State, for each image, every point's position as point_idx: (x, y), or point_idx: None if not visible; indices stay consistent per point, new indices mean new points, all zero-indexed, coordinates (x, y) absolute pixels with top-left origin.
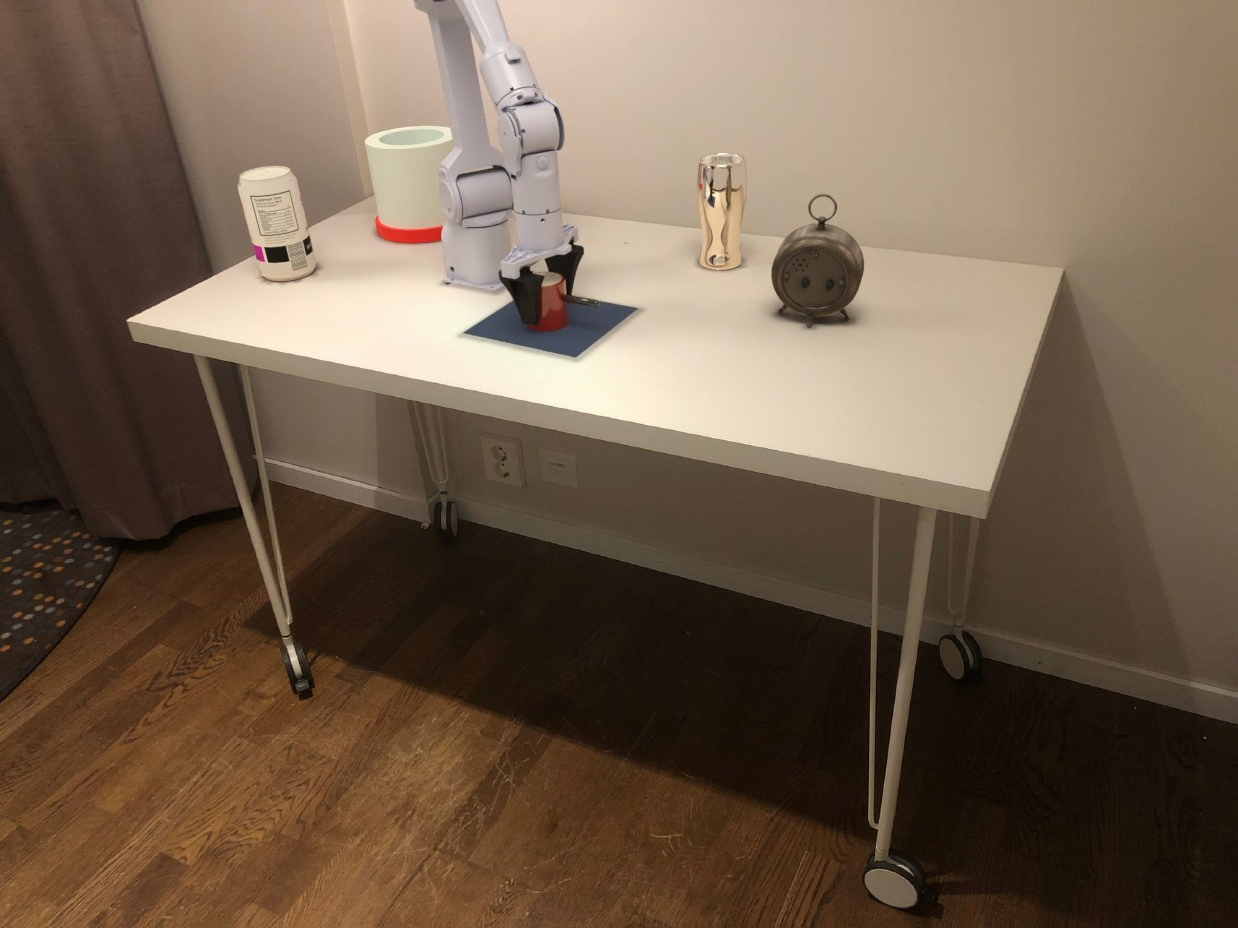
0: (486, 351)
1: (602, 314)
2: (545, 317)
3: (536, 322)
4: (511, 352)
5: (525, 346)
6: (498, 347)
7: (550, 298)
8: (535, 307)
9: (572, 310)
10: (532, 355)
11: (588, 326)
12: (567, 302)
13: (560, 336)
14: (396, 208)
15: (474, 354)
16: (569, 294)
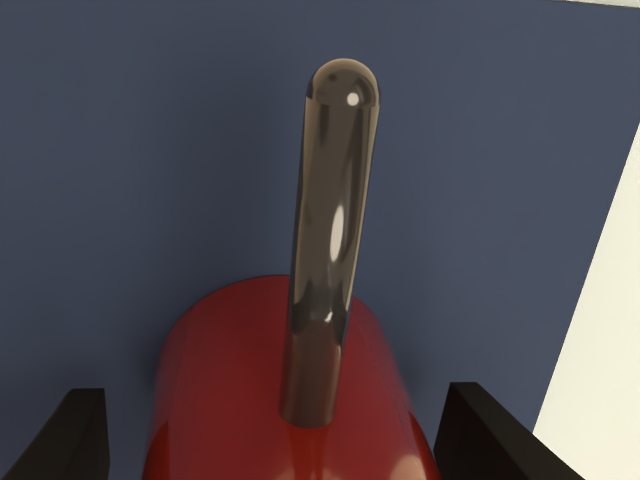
0: (605, 441)
1: (2, 151)
2: (404, 385)
3: (485, 391)
4: (604, 356)
5: (566, 331)
6: (562, 423)
7: (423, 458)
8: (563, 463)
9: (55, 346)
10: (627, 260)
11: (229, 149)
12: (104, 394)
13: (420, 235)
14: None
15: (636, 461)
16: (86, 424)
